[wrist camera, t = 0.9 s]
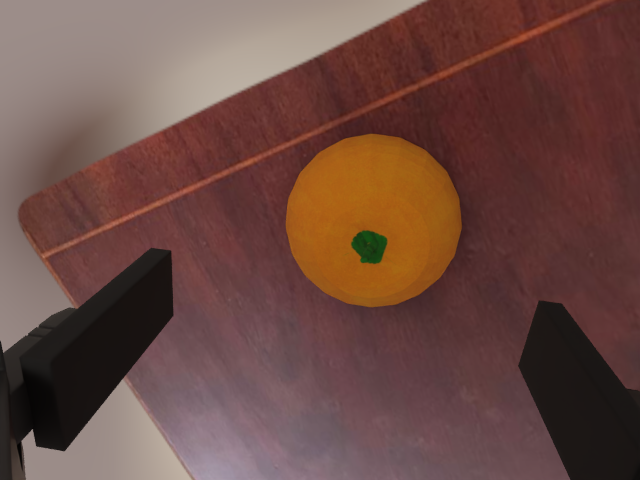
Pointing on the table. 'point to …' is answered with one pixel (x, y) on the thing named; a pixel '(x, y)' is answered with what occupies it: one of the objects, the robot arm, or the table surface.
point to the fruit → (373, 220)
